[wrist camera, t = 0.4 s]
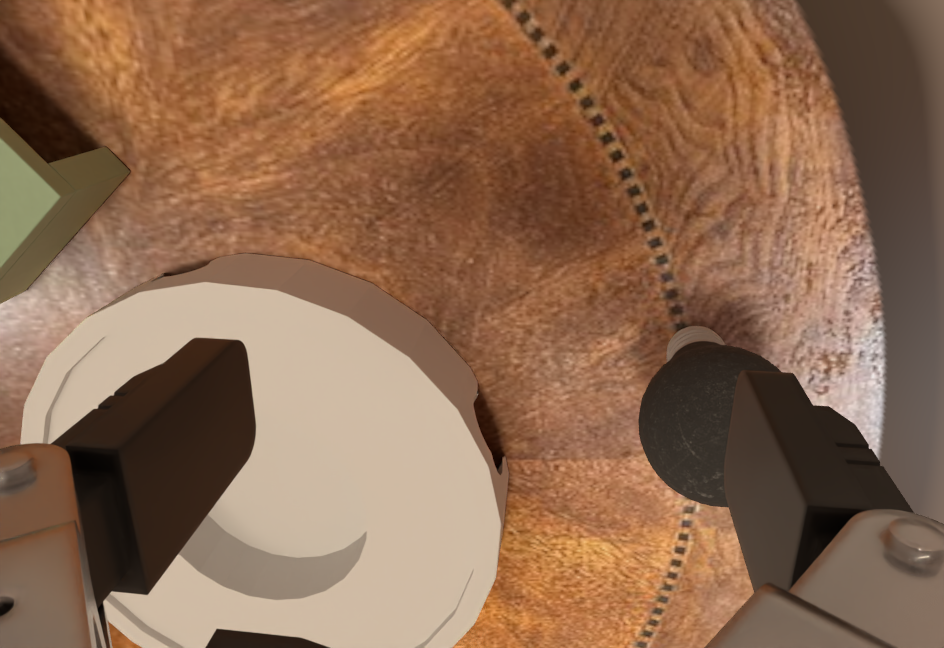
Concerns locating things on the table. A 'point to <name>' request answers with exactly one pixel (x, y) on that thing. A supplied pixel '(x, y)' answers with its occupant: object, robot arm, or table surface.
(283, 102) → the table surface
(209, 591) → the beige round base
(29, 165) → the bench
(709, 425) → the light bulb
